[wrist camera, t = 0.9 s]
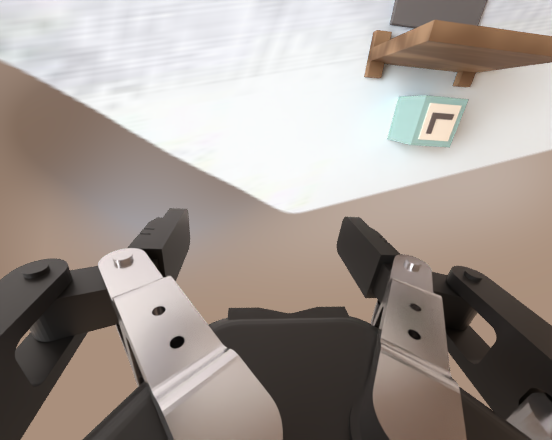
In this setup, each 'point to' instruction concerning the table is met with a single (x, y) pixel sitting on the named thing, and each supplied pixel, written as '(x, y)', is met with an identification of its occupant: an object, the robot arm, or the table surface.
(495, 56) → the wooden footed board
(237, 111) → the table surface
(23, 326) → the robot arm
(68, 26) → the table surface
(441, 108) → the letter cube
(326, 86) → the table surface
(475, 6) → the mat
